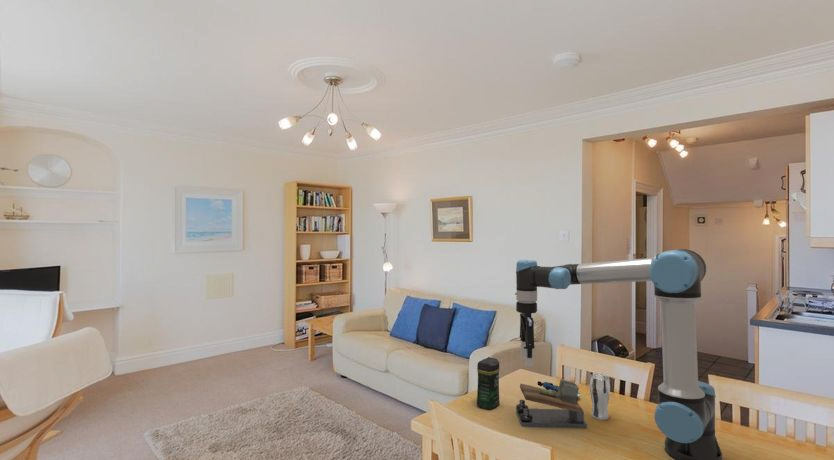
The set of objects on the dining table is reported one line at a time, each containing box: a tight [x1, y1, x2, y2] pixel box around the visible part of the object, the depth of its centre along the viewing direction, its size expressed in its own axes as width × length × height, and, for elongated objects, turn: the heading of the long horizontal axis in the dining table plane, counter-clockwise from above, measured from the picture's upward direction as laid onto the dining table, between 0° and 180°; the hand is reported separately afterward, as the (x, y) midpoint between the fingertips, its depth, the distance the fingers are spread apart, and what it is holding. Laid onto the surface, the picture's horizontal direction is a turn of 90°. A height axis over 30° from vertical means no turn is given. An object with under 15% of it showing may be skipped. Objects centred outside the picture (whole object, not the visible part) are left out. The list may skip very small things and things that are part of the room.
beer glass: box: [589, 373, 611, 421], centre depth 159 cm, size 7×7×15 cm
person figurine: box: [537, 380, 581, 402], centre depth 179 cm, size 11×4×18 cm
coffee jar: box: [476, 356, 500, 410], centre depth 170 cm, size 10×8×19 cm
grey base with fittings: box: [515, 399, 588, 429], centre depth 156 cm, size 12×23×5 cm, turn 86°
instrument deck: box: [519, 378, 583, 413], centre depth 156 cm, size 12×20×8 cm, turn 86°
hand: (526, 362), depth 157 cm, fingers open, 8 cm apart
